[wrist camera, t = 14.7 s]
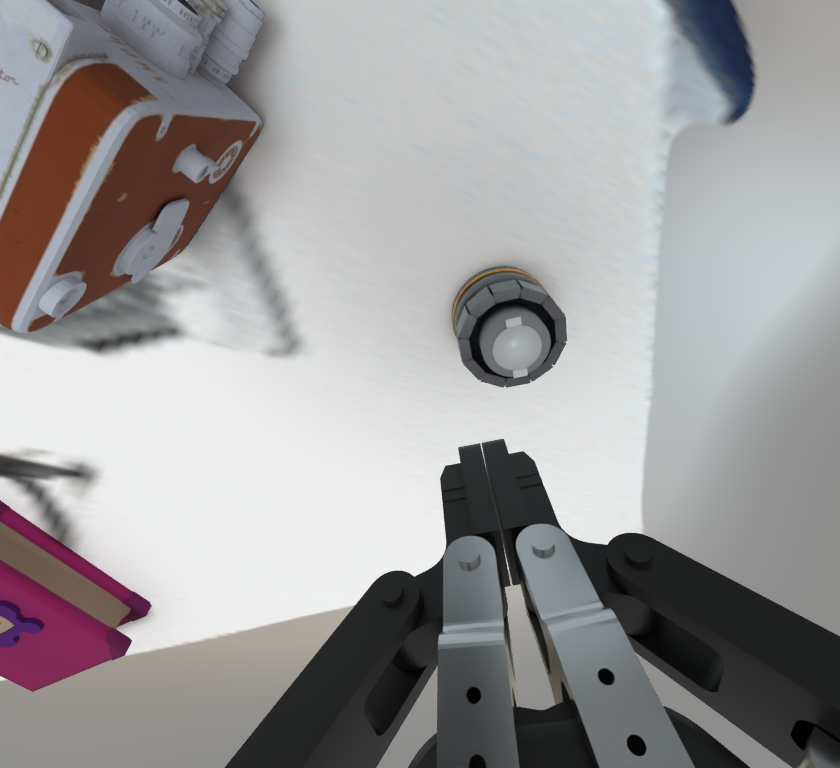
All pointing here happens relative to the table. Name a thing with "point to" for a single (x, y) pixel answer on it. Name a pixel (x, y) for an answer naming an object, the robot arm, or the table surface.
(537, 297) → the lens barrel
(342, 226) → the table surface
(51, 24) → the cine camera
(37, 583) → the book
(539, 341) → the lens cap
